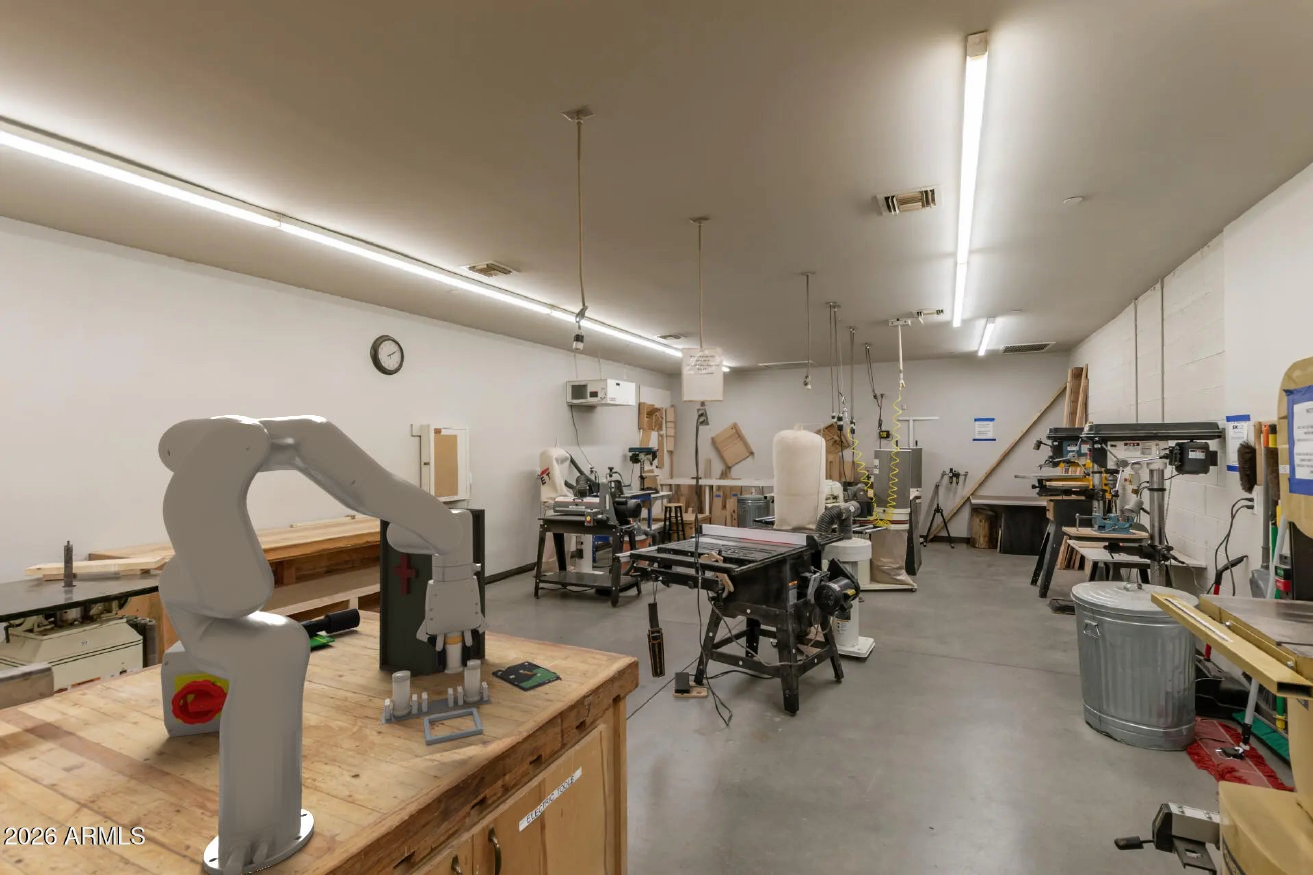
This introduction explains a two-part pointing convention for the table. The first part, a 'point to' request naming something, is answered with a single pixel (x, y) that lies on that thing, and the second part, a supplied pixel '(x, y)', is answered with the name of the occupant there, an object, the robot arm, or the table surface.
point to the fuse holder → (435, 705)
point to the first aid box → (417, 604)
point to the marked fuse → (453, 652)
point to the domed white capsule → (401, 693)
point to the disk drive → (526, 675)
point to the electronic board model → (330, 625)
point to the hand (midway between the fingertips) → (453, 665)
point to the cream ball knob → (472, 681)
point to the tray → (452, 735)
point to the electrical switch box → (190, 695)
